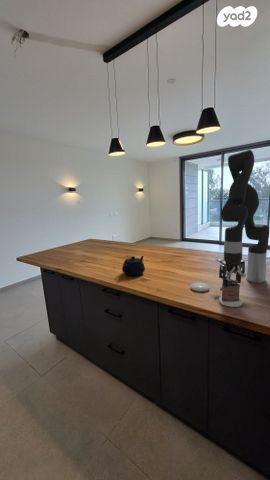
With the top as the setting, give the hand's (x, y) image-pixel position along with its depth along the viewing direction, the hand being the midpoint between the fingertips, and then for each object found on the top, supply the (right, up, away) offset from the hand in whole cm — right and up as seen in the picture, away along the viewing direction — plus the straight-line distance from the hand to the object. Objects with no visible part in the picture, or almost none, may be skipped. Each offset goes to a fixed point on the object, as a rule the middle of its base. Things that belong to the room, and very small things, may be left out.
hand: (231, 284), depth 98 cm
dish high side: (-9, -6, +19) cm, 22 cm away
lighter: (0, -8, +1) cm, 8 cm away
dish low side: (0, -9, +2) cm, 9 cm away
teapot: (-45, -3, +49) cm, 67 cm away
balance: (+5, -6, +15) cm, 17 cm away
